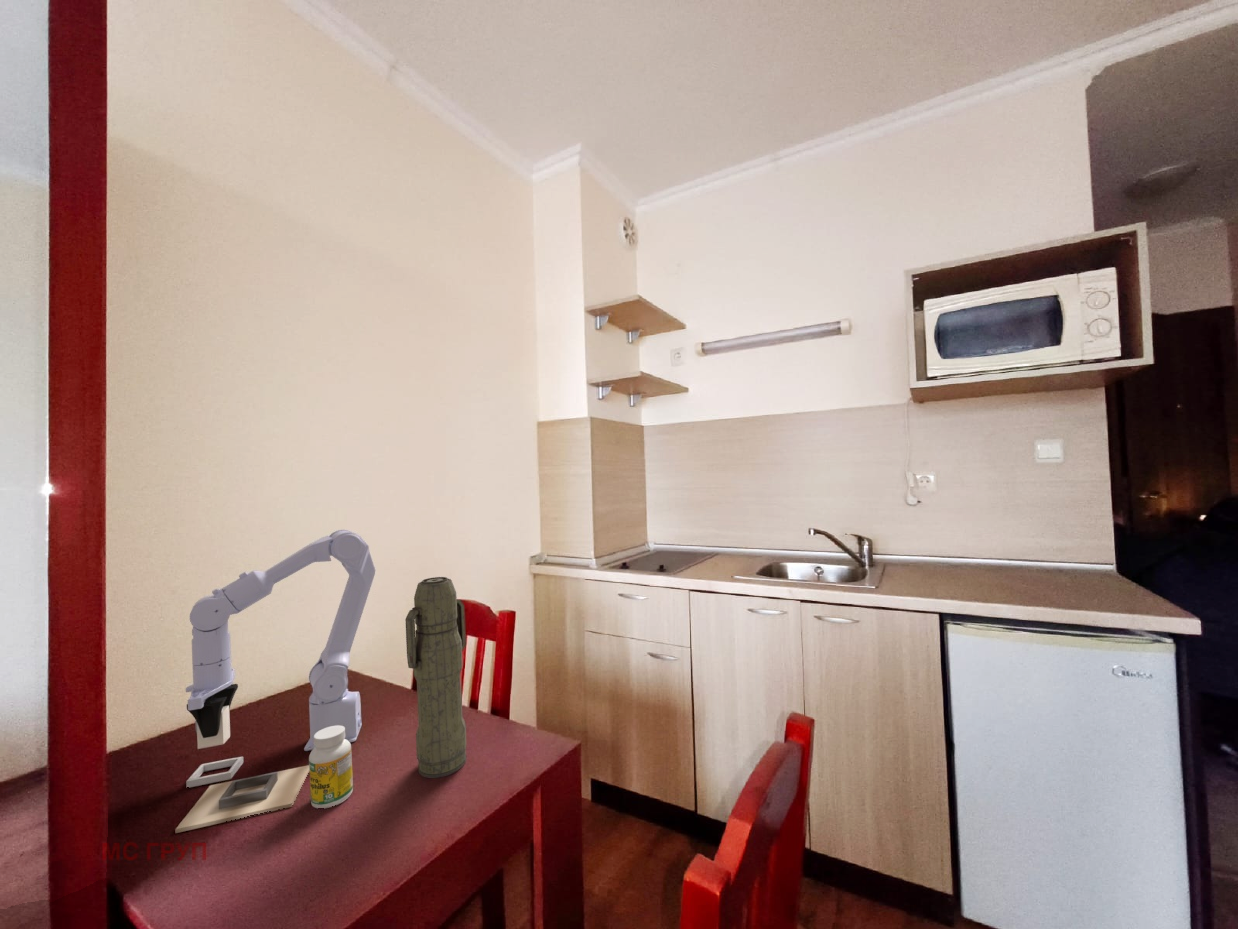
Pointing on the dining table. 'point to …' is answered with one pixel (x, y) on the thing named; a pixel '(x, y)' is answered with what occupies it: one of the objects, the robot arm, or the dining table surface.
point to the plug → (222, 733)
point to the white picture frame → (197, 780)
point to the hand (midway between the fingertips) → (214, 731)
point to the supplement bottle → (330, 768)
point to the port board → (245, 798)
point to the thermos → (438, 675)
